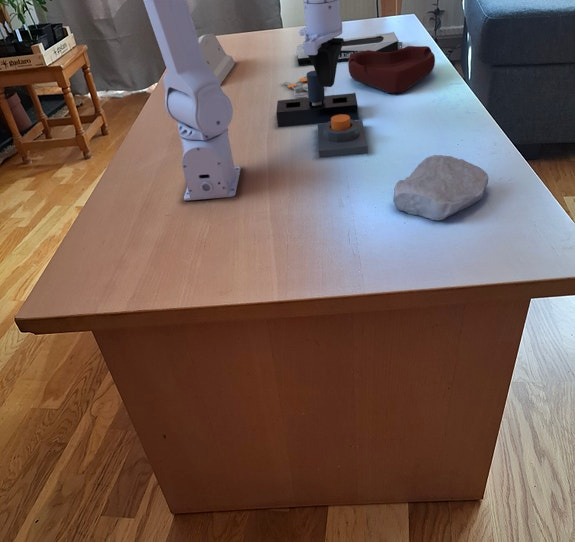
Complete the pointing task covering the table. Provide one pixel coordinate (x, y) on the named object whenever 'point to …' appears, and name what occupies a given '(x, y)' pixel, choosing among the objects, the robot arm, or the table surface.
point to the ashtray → (392, 67)
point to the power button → (340, 122)
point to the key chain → (297, 86)
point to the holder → (315, 110)
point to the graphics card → (358, 47)
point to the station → (342, 140)
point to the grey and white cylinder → (314, 89)
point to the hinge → (215, 56)
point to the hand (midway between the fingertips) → (327, 85)
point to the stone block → (440, 187)
